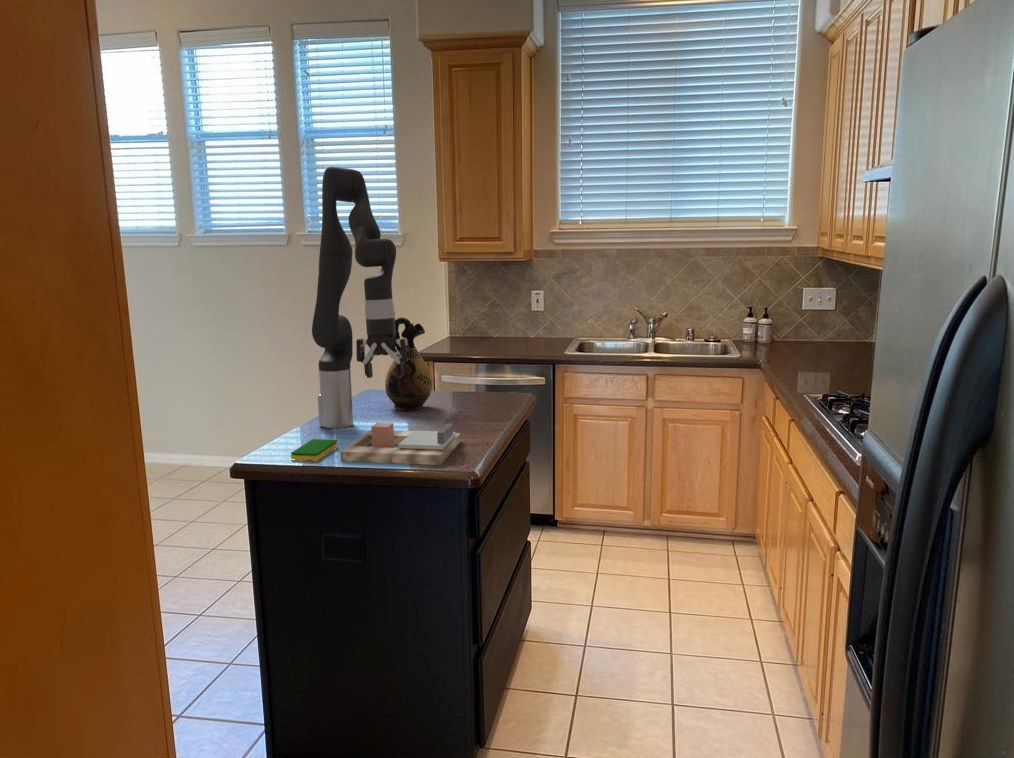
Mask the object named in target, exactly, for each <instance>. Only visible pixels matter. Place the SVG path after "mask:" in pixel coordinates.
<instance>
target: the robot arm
mask: <svg viewBox="0 0 1014 758" xmlns="http://www.w3.org/2000/svg"><path fill="white" fill-rule="evenodd" d="M322 175H323V176H322V184H321V187H322V188H321V192H322V193H321V208H322V209H321V210H322V211H321V213H322V215H321V235H320V244H319V255H318V256H319V257H318V258H319V259H318V277H317V288H316V289H317V290H316V300H315V307H314V312H313V319H312V325H311V335H312V339H313V341H314V342H315V344H316V345H317V346H319V347H320V348H323V349H324V351H323V354H322V356H321V357H320V358H319V360H318V377H319V394H318V395H317V405H318V406H317V407H318V426H319V427H320V426H322V428H325V427H326V428H327V429H342V428H343V429H344V428H348V427H350V426H351V427H352V426H353V425H354V415H353V414H354V413H353V412H354V411H353V394H352V393H353V392H352V391H353V390H352V389H353V388H352V375H351V374H352V372H351V362H352V359H353V353H354V352H353V350H354V349H353V344H354V343H353V342H354V341H353V329H352V328H353V327H352V325H351V322H350V321H349V319H348V318H347V317H346V316H344V315H342V314H340V303H341V299H342V296H343V294H344V291H345V290H346V289H345V288H346V287H347V285H348V282H349V279H350V277H351V272H352V267H353V247H352V244H351V241H350V240H349V238H348V236H347V234H346V232H345V230H344V229H343V226H342V225H341V222H340V219H339V216H338V210H337V202H344V203H345V202H346V203H353V204H354V206H353V208H351V211H350V213H349V215H348V227H349V230H350V231H351V234H352V237H353V238H354V243H355V244H354V259H355V261H356V263H357V264H358V265H359V266H361V267H364V268H375V267H378V268H379V267H381V268H380V271H379V272H378V273H377V274H375V275H371V276H369V277H366V278H364V281H363V282H364V283H363V284H364V285H363V287H364V298H365V301H364V302H365V304H364V312H365V324H366V325H365V326H366V335H367V337H366V338H367V339H364V338H363V337H362V338H358V339H356V342H355V343H356V344H355V346H356V349H355V350H356V361H357V362H359V363H362V364H363V366H364V375H365V376H366V378H367V379H369V378H370V379H371V378H373V376H374V373H373V363H372V361H373V359H374V357H376V356H381V355H382V356H389V357H391V359H393V360H395V362H396V363H397V364H396V377H397V378H401V377H402V375H404V367H403V363H404V362H405V361H408V360H410V353H409V345H408V339H407V338H400V339H397V338H396V327H395V320H396V316H395V315H396V312H395V305H394V300H393V286H392V283H393V272H394V268H395V262H396V258H397V248H396V245H395V243H394V241H392V240H391V239H390V238H381V229H380V228H379V225H378V224H377V221H376V219H375V217H374V214H373V212H372V209H371V207H372V206H371V204H370V198H369V193H368V190H367V189H368V188H367V185H366V182H365V181H366V180H365V178H364V176H363V174H362V173H361V171H359V170H358V169H353V168H347V167H339V166H333V165H332V166H331V165H330V166H327V167H326V168H325V170H324V172H323V174H322ZM397 343H398V344H399V346H400V347H401V353H402V357H401V355H400V353H399V351H398V350H397V349H396V345H397ZM366 346H368V348H369V350H368V351H367V353H366V348H365V347H366Z"/></svg>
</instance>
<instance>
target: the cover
mask: <svg viewBox="0 0 1014 758" xmlns="http://www.w3.org/2000/svg"><path fill="white" fill-rule="evenodd" d="M456 433H457V432H456V431H454V423H448V422H447V423H446V424H444V426H442V427H441V428H440V430H438V431H436V430H435V431H434V430H433V431H432V430H413V432H412V433H411V434H410V435H409V436H407V437H406V438H405V439H404V440H403V441H402V442H400V443H399V444H398V448H412V449H439V450H443V449H444V448H445V447H446V445H447V444H448V443H449V442H450V441H451V440H452V439H453V438H454V437H455V436H456Z"/></svg>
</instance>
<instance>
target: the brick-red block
mask: <svg viewBox="0 0 1014 758" xmlns="http://www.w3.org/2000/svg"><path fill="white" fill-rule="evenodd" d="M394 429H395V428H394V422H376V423H374V424H372V426H371V429H370V430H372V444H371V447H383V448H395V444H394V431H395V430H394Z"/></svg>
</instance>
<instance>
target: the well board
mask: <svg viewBox="0 0 1014 758" xmlns="http://www.w3.org/2000/svg"><path fill="white" fill-rule="evenodd" d="M413 431H414V430H413ZM413 431H411V430H409V431H408V430H406V431H405V430H394V445H398V444H399V443H400V442H402V441H403V440H404V439H405V438H406V437H407V436H409V435H410V434H411V433H412V432H413ZM370 443H371V444H370ZM459 443H460V444H461V443H462V432H456V436H455V437H454V438H453V439H452V440H451V441H450V442H449V443H448V444H447V445H446V447H445V448H444V449H443V450H439V449H412V448H399V447H394V448H383V447H372V446H369V445H372V430H371V429H370V430H369V431H367V432H365V433H364V434H363V435H361V436H359V437H358V438H357V439H355V440H354V441H353V442H351V443H349V444H348V445H347V446H345V448H343V449H342V450H340V453H339V454H340V462H352V461H358V463H377V464H378V463H379V464H381V463H384V464H402V463H406V464H407V465H429V466H430V465H431V466H442V464H443V463H444V462H445V461H446V460H447V459H448V457H449V456H450V455H451V454H452V453H453V452H454V451H455V450H456V448H457V447H458V446H459V445H460V444H459ZM458 444H459V445H458ZM457 445H458V446H457ZM453 450H454V451H453ZM452 451H453V452H452ZM451 452H452V453H451ZM450 453H451V454H450ZM449 454H450V455H449ZM446 458H447V459H446ZM445 459H446V460H445Z"/></svg>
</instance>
